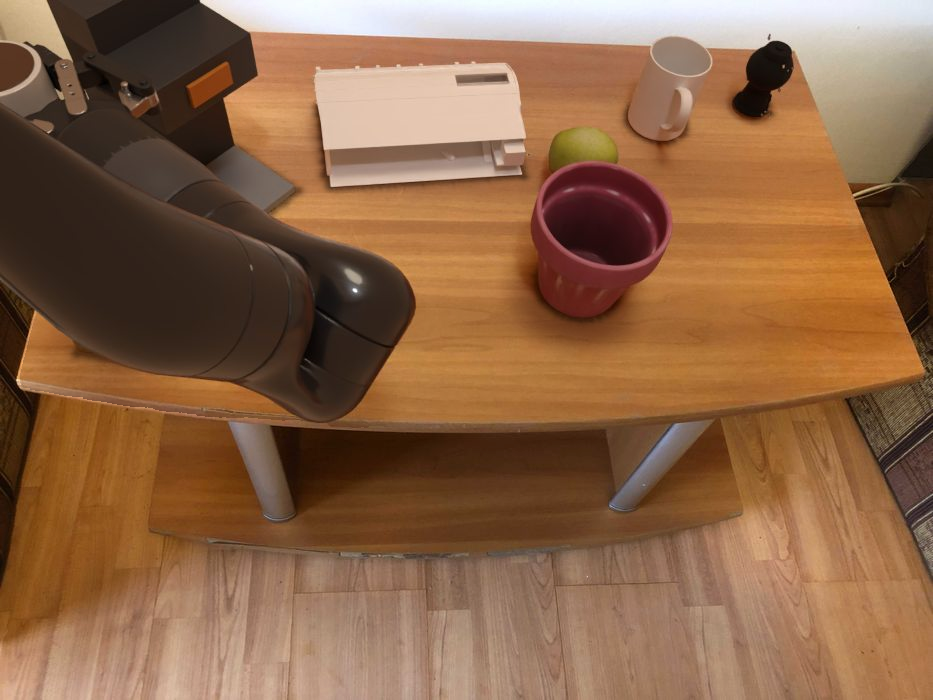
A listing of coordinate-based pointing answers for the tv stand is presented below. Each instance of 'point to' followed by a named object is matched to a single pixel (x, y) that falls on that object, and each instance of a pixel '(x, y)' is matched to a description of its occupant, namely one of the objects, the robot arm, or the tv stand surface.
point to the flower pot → (597, 235)
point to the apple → (581, 147)
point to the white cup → (24, 79)
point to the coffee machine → (179, 77)
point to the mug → (669, 87)
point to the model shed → (420, 123)
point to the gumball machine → (764, 78)
